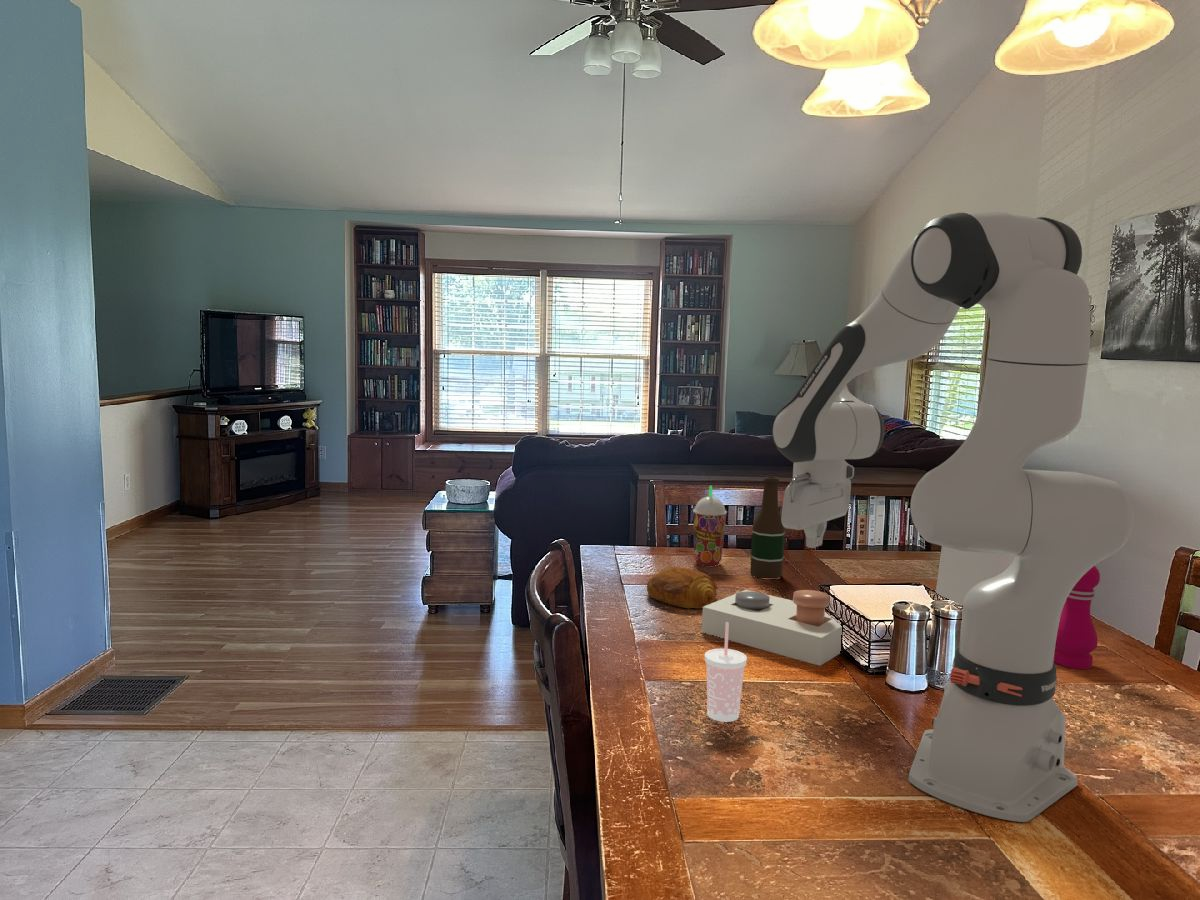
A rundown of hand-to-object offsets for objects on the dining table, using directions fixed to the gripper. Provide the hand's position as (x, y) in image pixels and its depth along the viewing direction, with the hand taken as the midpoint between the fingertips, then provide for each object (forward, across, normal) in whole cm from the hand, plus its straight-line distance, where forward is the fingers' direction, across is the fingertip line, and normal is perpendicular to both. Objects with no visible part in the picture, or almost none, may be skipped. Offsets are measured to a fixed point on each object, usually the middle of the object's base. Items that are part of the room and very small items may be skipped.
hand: (813, 546), depth 148 cm
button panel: (+18, 0, +6) cm, 19 cm away
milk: (+19, +37, -18) cm, 45 cm away
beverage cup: (+19, -36, -4) cm, 41 cm away
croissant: (+19, +7, +32) cm, 38 cm away
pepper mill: (+19, +25, -38) cm, 49 cm away
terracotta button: (+15, 0, 0) cm, 15 cm away
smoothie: (+19, +36, +45) cm, 61 cm away
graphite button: (+18, 0, +12) cm, 22 cm away
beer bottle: (+19, +37, +29) cm, 51 cm away
